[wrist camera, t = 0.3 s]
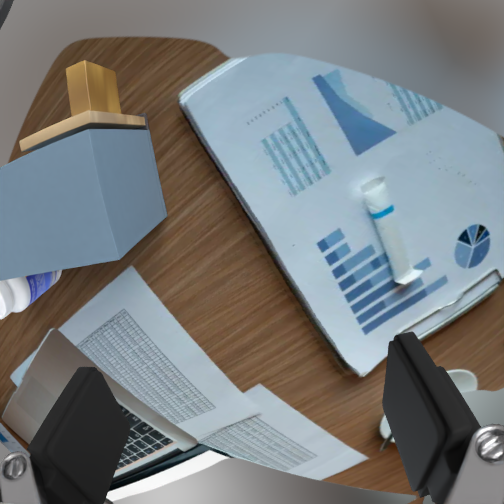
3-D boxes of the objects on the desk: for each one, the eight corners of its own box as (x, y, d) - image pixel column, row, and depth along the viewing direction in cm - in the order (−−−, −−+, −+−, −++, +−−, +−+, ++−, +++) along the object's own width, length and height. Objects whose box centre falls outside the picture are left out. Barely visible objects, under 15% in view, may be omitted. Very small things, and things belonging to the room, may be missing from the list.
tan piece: (80, 96, 24) (12, 87, 15) (137, 75, 23) (81, 51, 14) (88, 143, 26) (20, 152, 16) (145, 125, 25) (90, 122, 16)
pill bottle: (64, 245, 30) (8, 283, 21) (63, 289, 32) (14, 334, 22) (28, 232, 29) (-30, 264, 20) (28, 275, 31) (-23, 313, 22)
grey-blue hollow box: (43, 149, 26) (-33, 163, 16) (146, 113, 25) (84, 103, 15) (65, 238, 30) (-1, 281, 19) (167, 216, 29) (119, 259, 18)
